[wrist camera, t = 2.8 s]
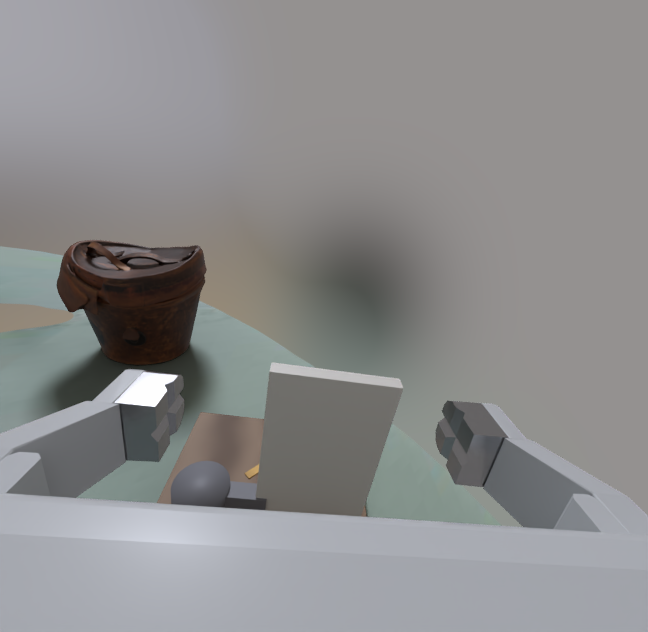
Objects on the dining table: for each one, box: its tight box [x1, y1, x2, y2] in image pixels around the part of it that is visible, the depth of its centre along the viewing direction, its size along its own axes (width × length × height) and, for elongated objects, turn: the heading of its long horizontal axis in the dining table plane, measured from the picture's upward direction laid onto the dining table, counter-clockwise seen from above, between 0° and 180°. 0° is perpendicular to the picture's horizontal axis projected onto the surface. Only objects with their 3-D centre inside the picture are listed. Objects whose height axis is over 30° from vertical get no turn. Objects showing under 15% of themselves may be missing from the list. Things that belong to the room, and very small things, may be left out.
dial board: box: [157, 412, 367, 517], centre depth 33 cm, size 20×18×2 cm
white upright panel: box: [171, 363, 403, 516], centre depth 27 cm, size 18×5×16 cm, turn 91°
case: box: [57, 240, 206, 365], centre depth 50 cm, size 18×20×18 cm
